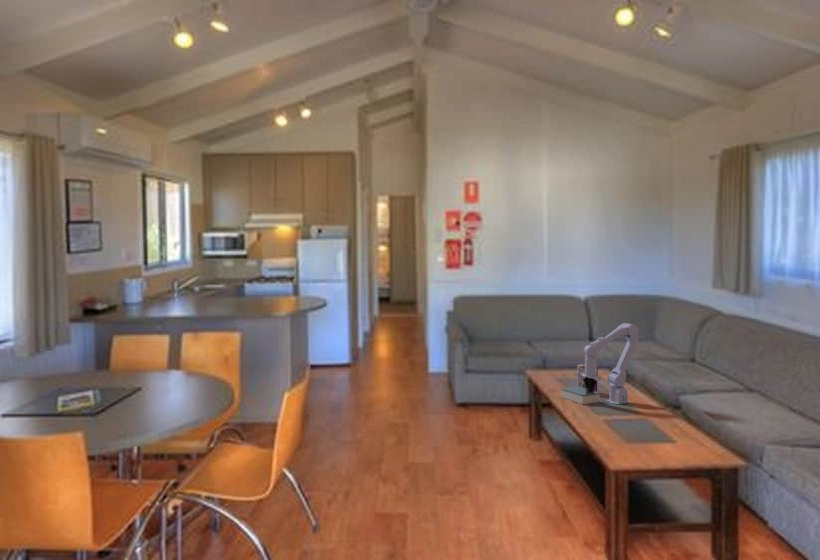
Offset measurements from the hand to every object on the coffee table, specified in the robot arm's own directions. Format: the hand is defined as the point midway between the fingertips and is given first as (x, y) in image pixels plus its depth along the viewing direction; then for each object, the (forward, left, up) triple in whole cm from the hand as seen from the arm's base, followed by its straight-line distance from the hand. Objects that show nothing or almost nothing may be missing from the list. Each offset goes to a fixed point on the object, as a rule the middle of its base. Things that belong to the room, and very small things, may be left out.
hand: (590, 391), depth 375 cm
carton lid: (+8, 0, -2) cm, 8 cm away
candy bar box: (+20, -15, -7) cm, 26 cm away
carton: (+8, 0, -6) cm, 10 cm away
